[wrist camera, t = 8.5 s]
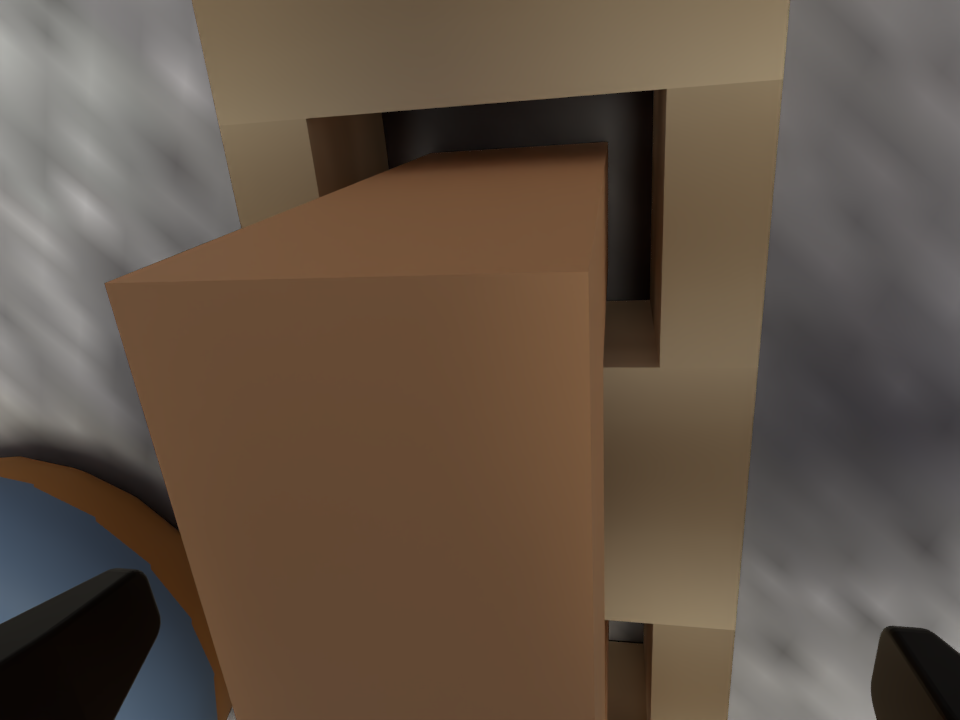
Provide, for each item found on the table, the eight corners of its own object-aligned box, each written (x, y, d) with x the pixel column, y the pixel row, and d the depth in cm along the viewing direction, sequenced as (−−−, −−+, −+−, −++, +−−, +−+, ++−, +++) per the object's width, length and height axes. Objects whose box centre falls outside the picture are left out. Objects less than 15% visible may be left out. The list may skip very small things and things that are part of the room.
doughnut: (-104, 368, 15) (-346, 498, 12) (297, 510, 16) (191, 689, 12) (-50, 621, 21) (-205, 771, 17) (250, 729, 21) (166, 903, 17)
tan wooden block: (431, 152, 11) (105, 283, 4) (607, 142, 11) (588, 270, 4) (476, 605, 15) (347, 1086, 8) (608, 615, 15) (600, 1146, 7)
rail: (695, 752, 16) (711, 894, 13) (413, 719, 17) (374, 841, 14) (755, -185, 9) (816, -301, 6) (277, -108, 10) (153, -175, 8)
